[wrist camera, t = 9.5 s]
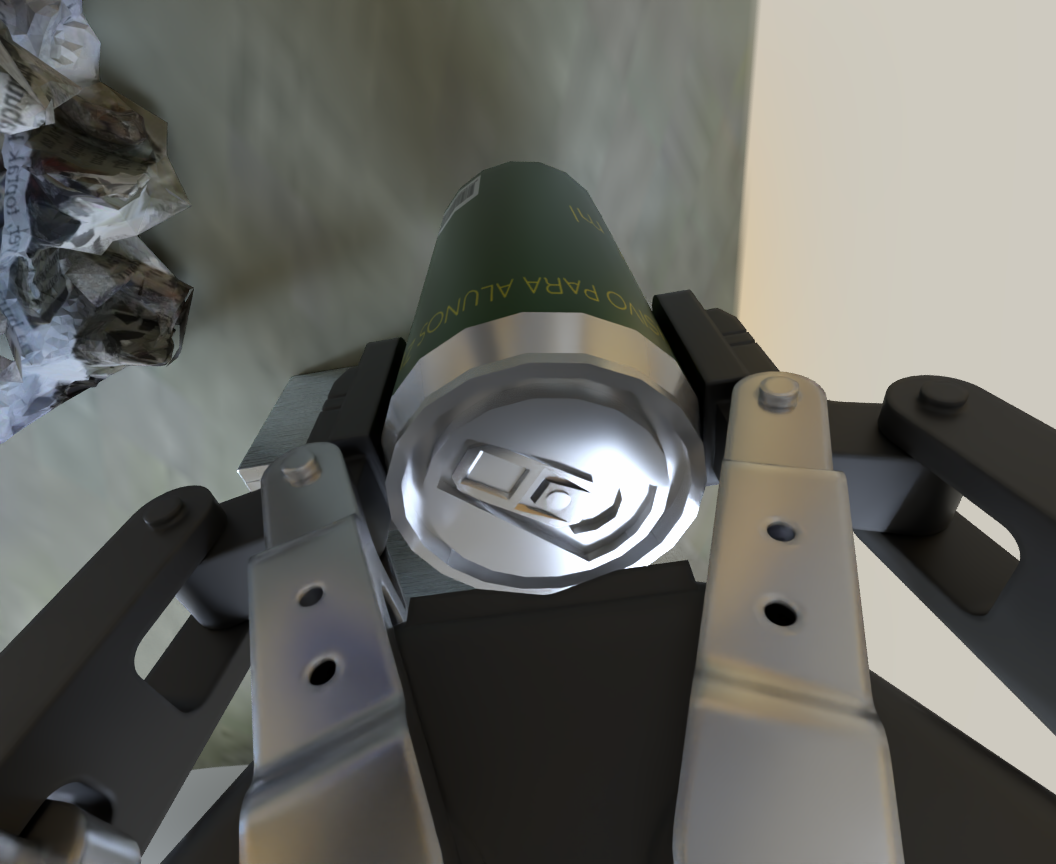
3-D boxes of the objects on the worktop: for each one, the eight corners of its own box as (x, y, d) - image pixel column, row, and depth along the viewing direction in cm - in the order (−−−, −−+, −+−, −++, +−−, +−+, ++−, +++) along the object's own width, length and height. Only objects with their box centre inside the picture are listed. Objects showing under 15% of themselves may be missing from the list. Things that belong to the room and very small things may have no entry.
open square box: (290, 376, 23) (235, 470, 18) (504, 340, 22) (506, 428, 17) (365, 523, 28) (338, 625, 24) (538, 498, 28) (546, 597, 23)
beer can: (415, 278, 18) (323, 553, 9) (484, 119, 16) (460, 270, 6) (550, 343, 20) (597, 632, 11) (634, 210, 17) (800, 440, 8)
